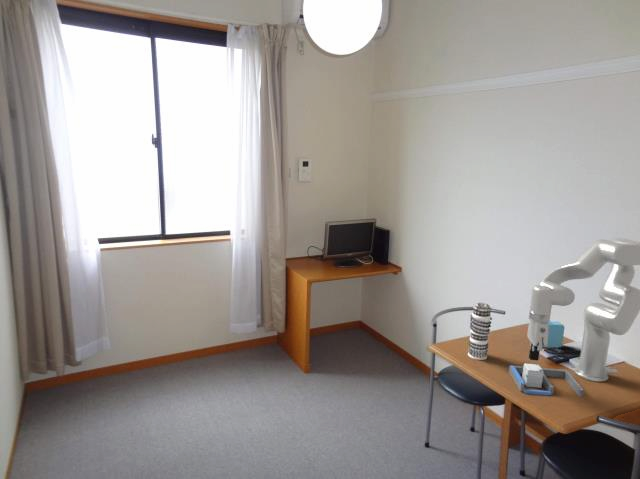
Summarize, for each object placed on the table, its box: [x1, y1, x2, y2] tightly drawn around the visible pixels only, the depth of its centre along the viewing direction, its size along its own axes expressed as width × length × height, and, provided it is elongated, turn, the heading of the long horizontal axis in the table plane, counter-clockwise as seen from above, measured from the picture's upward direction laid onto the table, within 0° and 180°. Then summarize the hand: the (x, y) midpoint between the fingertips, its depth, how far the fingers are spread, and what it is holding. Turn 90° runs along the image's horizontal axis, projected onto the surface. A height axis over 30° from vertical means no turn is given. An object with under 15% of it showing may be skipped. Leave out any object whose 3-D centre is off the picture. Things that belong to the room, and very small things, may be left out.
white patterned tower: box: [467, 302, 493, 361], centre depth 203 cm, size 9×9×25 cm
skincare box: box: [521, 363, 544, 389], centre depth 181 cm, size 6×6×7 cm
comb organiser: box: [508, 365, 585, 398], centre depth 181 cm, size 23×17×4 cm
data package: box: [542, 320, 565, 349], centre depth 217 cm, size 12×4×12 cm, turn 89°
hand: (533, 359), depth 180 cm, fingers closed
